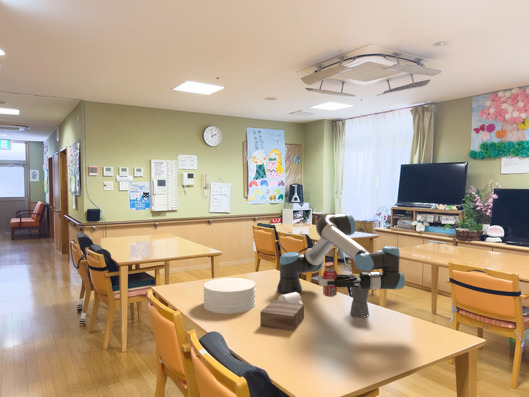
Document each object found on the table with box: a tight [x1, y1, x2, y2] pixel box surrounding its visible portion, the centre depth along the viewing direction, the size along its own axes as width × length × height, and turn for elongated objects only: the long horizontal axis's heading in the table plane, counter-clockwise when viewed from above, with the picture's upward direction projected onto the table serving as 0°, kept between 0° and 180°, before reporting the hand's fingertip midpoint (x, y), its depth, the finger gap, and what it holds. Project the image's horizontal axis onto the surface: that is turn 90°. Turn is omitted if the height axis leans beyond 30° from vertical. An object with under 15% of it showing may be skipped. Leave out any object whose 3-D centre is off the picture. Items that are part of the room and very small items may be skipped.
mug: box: [277, 292, 303, 304], centre depth 201 cm, size 12×10×8 cm
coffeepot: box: [346, 285, 371, 318], centre depth 195 cm, size 15×9×18 cm, turn 33°
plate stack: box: [203, 277, 256, 315], centre depth 209 cm, size 28×28×12 cm
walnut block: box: [259, 300, 305, 332], centre depth 183 cm, size 18×16×7 cm
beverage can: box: [322, 268, 338, 298], centre depth 176 cm, size 6×6×12 cm
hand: (318, 280), depth 176 cm, fingers closed on beverage can, 6 cm apart
